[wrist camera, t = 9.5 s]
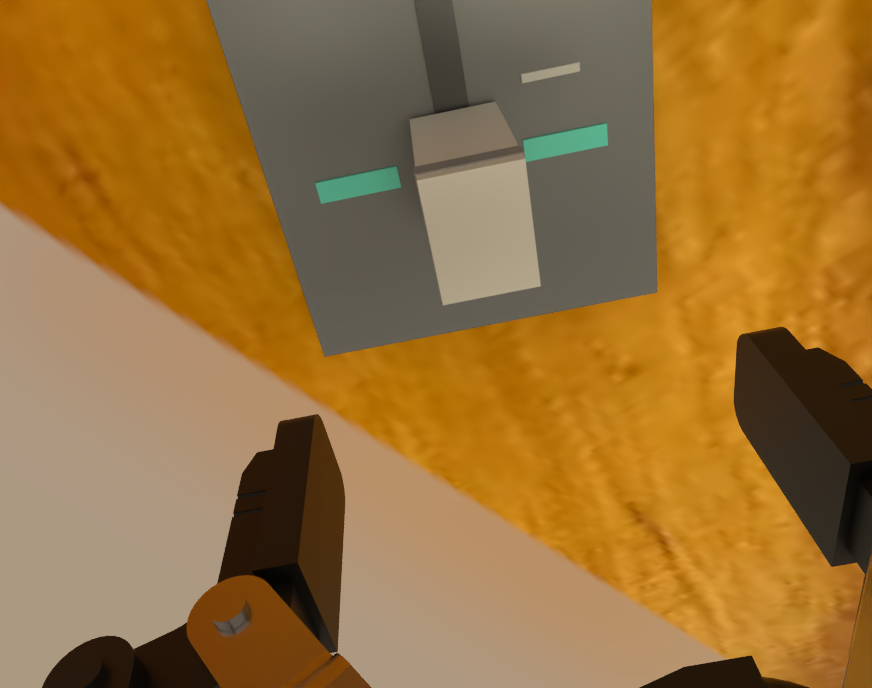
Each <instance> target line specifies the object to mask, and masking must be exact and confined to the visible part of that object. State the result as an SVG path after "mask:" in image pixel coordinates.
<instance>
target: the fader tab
mask: <svg viewBox="0 0 872 688" xmlns="http://www.w3.org/2000/svg"><path fill="white" fill-rule="evenodd" d="M409 120H410V129H411V137H412V146H413V154H414V163H415V167H413V171H414V177H415V182H416V187H417V191H418V196H419V201H420V206H421V210H422V215H423V220H424V224H425V229H426V234H427V238H428V243H429V248H430V253H431V257H432V262H433V267H434V271H435V276H436V281H437V286H438V290H439V295H440V300H441V301H442V303H443V305H448V304H453V303H458V302H463V301H468V300H473V299H478V298H483V297H489V296H494V295H499V294H504V293H509V292H514V291H519V290H524V289H530V288H535V287H540V286H541V283H540V275H539V267H538V259H537V250H536V242H535V234H534V226H533V218H532V209H531V201H530V193H529V185H528V176H527V168H526V160H525V152H524V150H523V148H522V146H521V145H518V143H517V142H516V140H515V138H514V136H513V134H512V132H511V130H510V128H509V126H508V124H507V122H506V120H505V118H504V116H503V115H502V113H501V111H500V109H499V107H498V105H497V103H496V101H495V102H490V103H486V104H481V105H476V106H471V107H466V108H462V109H457V110H452V111H447V112H442V113H438V114H433V115H428V116H423V117H418V118H414V119H409Z"/></svg>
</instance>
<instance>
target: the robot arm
mask: <svg viewBox="0 0 872 688" xmlns="http://www.w3.org/2000/svg"><path fill="white" fill-rule="evenodd" d="M734 406H735V412H736V416H737V419H738V422H739V425H740V427H741V429H742V431H743V432H744V434H745V435H746V437H747V439H748V440H749V442H750V443H751V445H752V446H753V448H754V449H755V451H756V452H757V454H758V455H759V457H760V458H761V460H762V461H763V463H764V464H765V466H766V468H767V469H768V471H769V472H770V474H771V475H772V477H773V478H774V480H775V481H776V483H777V484H778V486H779V487H780V489H781V490H782V492H783V493H784V495H785V497H786V498H787V500H788V501H789V503H790V504H791V506H792V507H793V509H794V510H795V512H796V513H797V515H798V516H799V518H800V519H801V521H802V522H803V524H804V526H805V527H806V529H807V530H808V532H809V533H810V535H811V536H812V538H813V539H814V541H815V542H816V544H817V545H818V547H819V548H820V550H821V552H822V553H823V555H824V556H825V558H826V559H827V561H828V562H829V564H830V565H831V567H834V566H839V565H845V564H851V563H856V562H857V563H858V565H859V566H860V568H861V569H862V571H863V572H864V573H865V577H864V582H863V586H862V591H861V595H860V600H859V605H858V610H857V614H856V619H855V624H854V629H853V634H852V638H851V643H850V648H849V653H848V657H847V662H846V667H845V672H844V676H843V681H842V685H841V688H872V389H871V388H870V387H869V386H868V385H867V384H864V383H863V380H862V379H861V378H860V377H859V375H858V374H857V373H856V372H855V371H854V370H853V369H852V368H851V367H850V366H849V365H848V364H847V363H846V362H845V361H843V360H841V359H839V358H837V357H836V356H834V355H832V354H830V353H828V352H826V351H824V350H822V349H820V348H813V349H808V350H805V348H804V347H803V346H802V345H801V344H800V343H799V342H798V341H797V339H796V338H795V337H794V336H793V335H792V334H791V333H790V332H789V331H788V330H787V329H786V328H784V327H777V328H772V329H767V330H762V331H757V332H751V333H746V334H742V335H740V336H739V338H738V341H737V352H736V370H735V387H734ZM237 496H238V499H237V500H236V504H235V508H234V517H232V521H231V526H230V530H229V534H228V539H227V543H226V548H225V553H224V557H223V561H222V565H221V570H220V574H219V579H218V583H217V584H216V585H215V586H213V587H212V588H210V589H209V590H208V591H207V592H205V593H204V594H203V595H202V596H201V598H200V599H199V600H198V601H197V602H196V604H195V605H194V607H193V609H192V610H191V612H190V615H189V617H188V621H187V623H185V624H184V625H183V626H181V627H179V628H177V629H175V630H174V631H172V632H169V633H167V634H165V635H163V636H161V637H159V638H157V639H155V640H152V641H150V642H148V643H146V644H144V645H142V646H140V647H137V648H135V649H133V648H132V647H131V645H130V644H129V643H128V642H127V641H126V640H124V639H122V638H120V637H116V636H104V637H99V638H95V639H92V640H90V641H87V642H85V643H83V644H81V645H80V646H78V647H76V648H75V649H73V650H72V651H71V652H69V653H68V654H67V655H66V656H65V657H63V658H62V659H61V660H60V661H59V663H57V665H56V666H55V667H54V668H53V669H52V671H51V672H50V673H49V675H48V677H47V678H46V680H45V682H44V684H43V687H42V688H371V687H370V686H369V685H368V683H367V682H366V681H365V680H364V679H363V678H362V677H361V676H360V675H359V673H358V672H357V671H356V670H355V669H354V668H353V667H352V666H351V665H350V663H349V662H348V661H347V660H346V659H345V658H344V657H342V656H341V655H340V654H338V653H336V654H335V655H334V656H332V655H331V654H330V653H332V652H337V651H338V631H339V612H340V592H341V572H342V553H343V533H344V514H345V493H344V485H343V480H342V475H341V472H340V469H339V466H338V463H337V460H336V458H335V455H334V452H333V449H332V447H331V444H330V441H329V438H328V435H327V432H326V430H325V427H324V424H323V422H322V419H321V417H320V416H319V415H318V414H316V415H311V416H306V417H301V418H295V419H290V420H284V421H280V422H279V424H278V428H277V433H276V439H275V445H274V449H273V450H268V451H263V452H258V453H256V455H255V456H254V458H253V459H252V461H251V462H250V463H249V465H248V466H247V467H246V469H245V470H244V472H243V473H242V477H241V481H240V485H239V490H238V494H237ZM640 688H809V687H806V686H803V685H799V684H796V683H793V682H789V681H784V680H779V679H774V678H766V677H762V676H761V674H760V672H759V670H758V668H757V666H756V664H755V662H754V660H753V657H752V656H746V657H740V658H734V659H728V660H723V661H717V662H711V663H706V664H699V665H694V666H687V667H683V668H681V669H679V670H677V671H675V672H672V673H670V674H668V675H666V676H664V677H662V678H659V679H657V680H655V681H653V682H651V683H649V684H647V685H644V686H642V687H640Z"/></svg>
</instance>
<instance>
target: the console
mask: <svg viewBox="0 0 872 688" xmlns="http://www.w3.org/2000/svg"><path fill="white" fill-rule="evenodd" d="M207 3H208V7H209V10H210V13H211V16H212V19H213V22H214V25H215V28H216V31H217V34H218V37H219V40H220V43H221V46H222V49H223V52H224V55H225V58H226V61H227V64H228V67H229V70H230V73H231V76H232V79H233V82H234V85H235V88H236V91H237V94H238V97H239V100H240V103H241V106H242V109H243V112H244V115H245V118H246V121H247V124H248V127H249V130H250V133H251V136H252V139H253V142H254V145H255V148H256V151H257V154H258V157H259V160H260V163H261V166H262V169H263V172H264V175H265V178H266V181H267V184H268V187H269V191H270V194H271V197H272V200H273V203H274V206H275V209H276V212H277V215H278V218H279V221H280V224H281V227H282V230H283V233H284V236H285V239H286V242H287V245H288V248H289V251H290V254H291V257H292V260H293V263H294V266H295V269H296V272H297V275H298V278H299V281H300V284H301V287H302V290H303V293H304V296H305V299H306V302H307V305H308V308H309V311H310V314H311V317H312V320H313V323H314V326H315V329H316V332H317V335H318V338H319V341H320V344H321V347H322V350H323V353H324V356H330V355H336V354H341V353H346V352H351V351H356V350H361V349H367V348H372V347H377V346H382V345H387V344H392V343H398V342H403V341H408V340H413V339H418V338H423V337H429V336H434V335H439V334H444V333H449V332H454V331H460V330H465V329H470V328H475V327H480V326H485V325H491V324H496V323H501V322H506V321H511V320H516V319H522V318H527V317H532V316H537V315H542V314H547V313H553V312H558V311H563V310H568V309H573V308H578V307H584V306H589V305H594V304H599V303H604V302H609V301H615V300H620V299H625V298H630V297H635V296H640V295H646V294H651V293H656V292H657V253H656V203H655V153H654V103H653V53H652V3H651V0H207ZM495 101H496V103H497V105H498V107H499V109H500V111H501V113H502V115H503V116H504V118H505V120H506V122H507V124H508V126H509V128H510V130H511V132H512V134H513V136H514V138H515V140H516V142H517V143H518V145H521V146H522V148H523V150H524V152H525V160H526V168H527V176H528V185H529V193H530V201H531V209H532V218H533V226H534V234H535V242H536V250H537V259H538V267H539V275H540V283H541V286H540V287H535V288H530V289H524V290H519V291H514V292H509V293H504V294H499V295H494V296H489V297H483V298H478V299H473V300H468V301H463V302H458V303H453V304H448V305H443V303H442V301H441V300H440V295H439V290H438V286H437V281H436V276H435V271H434V267H433V262H432V257H431V253H430V248H429V243H428V238H427V234H426V229H425V224H424V220H423V215H422V210H421V206H420V201H419V196H418V191H417V187H416V182H415V177H414V171H413V167H415V163H414V154H413V146H412V137H411V129H410V120H409V119H414V118H418V117H423V116H428V115H433V114H438V113H442V112H447V111H452V110H457V109H462V108H466V107H471V106H476V105H481V104H486V103H490V102H495Z"/></svg>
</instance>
